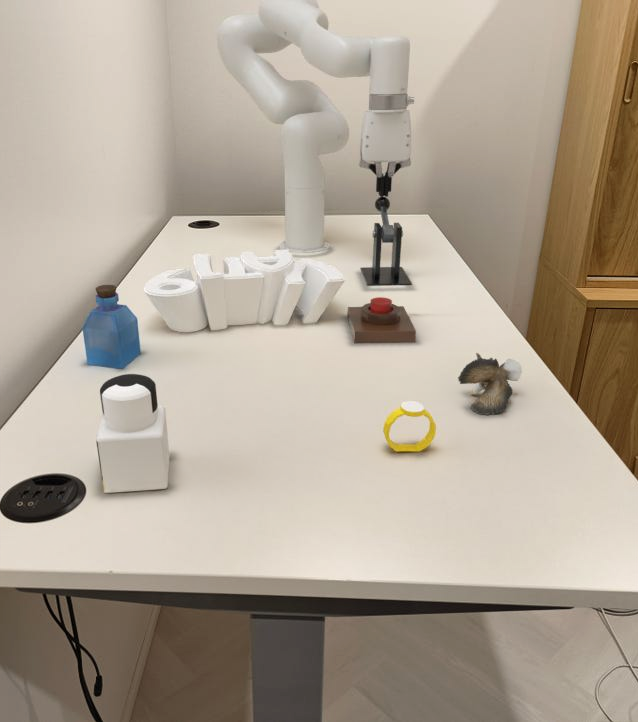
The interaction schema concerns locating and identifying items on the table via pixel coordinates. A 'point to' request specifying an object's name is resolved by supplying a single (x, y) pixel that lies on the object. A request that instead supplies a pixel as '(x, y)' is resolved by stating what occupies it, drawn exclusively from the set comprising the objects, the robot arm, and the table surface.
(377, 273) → the lever bracket
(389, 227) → the press lever
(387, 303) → the button
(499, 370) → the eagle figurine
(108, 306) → the perfume bottle
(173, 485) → the table surface
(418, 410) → the watch
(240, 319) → the white letter sculpture
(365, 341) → the button block
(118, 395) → the medicine bottle
